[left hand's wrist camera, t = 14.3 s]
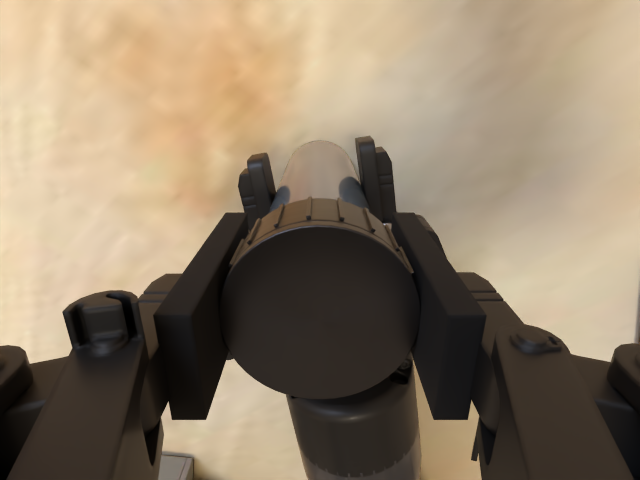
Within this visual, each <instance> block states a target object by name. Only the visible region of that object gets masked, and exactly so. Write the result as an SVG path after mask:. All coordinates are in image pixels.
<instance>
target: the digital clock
mask: <svg viewBox="0 0 640 480" xmlns="http://www.w3.org/2000/svg"><path fill="white" fill-rule="evenodd" d="M158 480H193V458H187V457H176V456H166V455H161V462H160V470H159V478H158Z"/></svg>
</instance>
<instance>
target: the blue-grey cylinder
mask: <svg viewBox="0 0 640 480" xmlns="http://www.w3.org/2000/svg"><path fill="white" fill-rule="evenodd" d="M310 196H312V199H313V198H328V199H335V200H337V198H341V200H342V201H344V202H348V203H351V204H354V205H356V206H358V207H360V208H363V209H364V208H367V209H368V210H369V213H371V211H370V208H369V206H368V203H367V200H366V198H365V195H364V193H363V190H362V188H361V185H360V182H359V180H358V177H357V175H356V172H355V170H354V167H353V164H352V162H351V160H350V158H349V156H348V155H347V153H346V152H345V151H344V150H343V149H342V148H341V147H339V146H338V145H336V144H334V143H331V142H328V141H313V142H309V143H306V144H304V145H302V146H301V147H300V148H298V149H297V150H296V151H295V152H294V153H293V155H292V156H291V158H290V160H289V162H288V164H287V167H286V170H285V172H284V175H283V177H282V180H281V182H280V185H279V187H278V190H277V193H276V195H275V198H274V200H273V203H272V205H271V208H270V210H269V213H271V212H272V211H274V210H276V209H277V208H279V206H280V204H284V205H286V204H289V203H292V202H295V201H299V200H304V199H308V197H310ZM269 213H268V214H269ZM371 214H372V213H371Z"/></svg>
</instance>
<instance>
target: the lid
mask: <svg viewBox="0 0 640 480" xmlns="http://www.w3.org/2000/svg"><path fill="white" fill-rule="evenodd" d="M228 267H230V268H231V269H230V271H229V273H228V275H227V277H226V280H225V282H224V284H223V287H222V290H221V294H220V298H219V318H220V327H221V334H222V336H223V339H224V342H225V344H226V346H227V348H228V350H229V352H230V353H231V355H232V356H233V358H234V359H235V360H236V362H237V363H238V364H239V365H240V366H241V367H242V368H243V369H244V370H245V371H246V372H247V373H248V374H249V375H250V376H252V377H253V378H254V379H256V380H257V381H259V382H260V383H262V384H263V385H265V386H267V387H269V388H271V389H273V390H275V391H278V392H281V393H284V394H287V395H291V396H295V397H300V398H307V399H333V398H339V397H345V396H349V395H352V394H356V393H359V392H361V391H364V390H366V389H369V388H371V387H372V386H374V385H376V384H378V383H380V382H381V381H382V380H384V379H385V378H387V377H388V376H389V375H391V374H392V373H393V372H394V371H395V370H396V369H397V368H398V367H399V366H400V365H401V364H402V362H403V361H404V360H405V359H406V357H407V356H408V354H409V353H410V351H411V349H412V347H413V345H414V343H415V341H416V338H417V335H418V332H419V325H420V316H421V302H420V295H419V292H418V289H417V285H416V283H415V281H414V278H413V276H415V273H414V271H413V269H412V267H411V265H410V263H409V261H408V259H407V257H406V255H405V253H404V251H403V249H402V247H399V246H398V244H397V242H396V240H395V238H394V236H393V234H392V232H391V229H390V227H389V226H388V225H384V224H383V223H382V222H381V221H380V220H378V219H377V218H376V217H375V216H374V215H372V214H371V213H369V210H368V209H367V208H364V209H363V208H360V207H358V206H356V205H354V204H351V203H348V202H344V201H342V200H341V198H337V200H335V199H328V198H313V199H312V196H310V197H308V199H304V200H299V201H295V202H292V203H289V204H286V205H284V204H280V206H279V208H277V209H276V210H274V211H272V212H271V213H269V214H268V215H266V216H265V217H263V218H262V219H260V218H259V219H257V221H256V223H255V225H254V227H253V228H252V230H251V231H250V232H249V233H248V235H247V237H246V238H245V240H244V239H242V240H241V241H240V243H239V245H238V248H237V250H236V252H235V254H234V256H233V258H232V260H231V262H230V264H229V266H228Z"/></svg>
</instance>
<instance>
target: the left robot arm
mask: <svg viewBox="0 0 640 480" xmlns="http://www.w3.org/2000/svg"><path fill="white" fill-rule="evenodd" d="M391 232H392V234H393V236H394V238H395V240H396V242H397V244H398V246H399V247H402V249H403V251H404V253H405V255H406V257H407V259H408V261H409V263H410V265H411V267H412V269H413V271H414V273H415V276H413V278H414V281H415V283H416V285H417V289H418V292H419V295H420V302H421V316H420V325H419V332H418V335H417V338H416V341H415V343H414V345H413V347H412V349H411V353H412V356H413V359H414V362H415V365H416V368H417V371H418V374H419V377H420V380H421V383H422V386H423V389H424V392H425V395H426V398H427V401H428V404H429V407H430V410H431V413H432V416H433V419H434V420H468V415H469V410H470V404H471V399H472V401H473V404H474V406H475V408H476V410H477V412H478V414H479V421H478V426H477V431H476V436H475V441H474V446H473V451H472V458H471V460H473V461H477V457H478V453H479V461H480V469H481V477H482V480H640V344H633V343H632V344H624V345H620V346H619V347H617V348H616V349H615V351H614V354H613V357H612V360H611V362H607V361H601V360H596V359H591V358H586V357H581V356H576V355H572V354H571V353H570V351H569V349H568V348H567V346H566V345H565V344H564V343H563V342H562V340H561V339H559V338H558V337H556V336H555V335H553V334H552V333H550V332H548V331H545V330H543V329H541V328H538V327H534V326H530V325H525V324H524V323H523V322H522V321H521V320H520V318H519V317H518V316H517V315H516V314H515V312H514V311H513V310H512V309H511V308H510V306H509V305H508V304H507V303H506V302H505V301H503V298H502V297H501V296H500V295H499V293H496V290H495V289H494V287H493V286H492V285H491V284H490V283H489V281H487V280H486V279H484V278H482V277H481V276H479V275H477V274H475V273H474V272H456V271H455V270H454V268H453V267H452V266H451V264H450V263H449V261H448V260H447V258H446V257H445V256H444V254H443V253H442V251H441V250H440V249H439V247H438V246H437V244H436V243H435V242H434V240H433V239H432V237H431V236H430V235H429V233H428V232H427V230H426V229H425V228H424V226H423V225H422V223H421V222H420V221H419V219H418V218H417V216H416V215H415V214H414V213H392V225H391ZM248 233H249V228H248V214H247V213H225V215H224V216H223V217H222V219H221V220H220V222H219V223H218V224H217V226H216V227H215V229H214V230H213V231H212V233H211V234H210V236H209V237H208V238H207V240H206V241H205V243H204V244H203V245H202V247H201V248H200V250H199V251H198V253H197V254H196V255H195V257H194V258H193V260H192V261H191V262H190V264H189V265H188V267H187V268H186V269H185V271H184V272H183V274H165V275H163V276H162V277H160V278H158V279H157V280H155V281H153V282H152V283H151V284H150V285H149V286H148V288H147V289H146V290H145V291H144V294H142V295H141V296H140V297H139V298H137V296H136V295H134V294H133V293H132V292H127V291H122V290H117V291H105V292H99V293H94V294H92V295H89V296H86V297H83V298H80V299H79V300H77V301H75V302H73V303H72V304H70V305H69V306H68V307H67V308H66V309H65V310H64V311H63V316H64V319H65V323H66V326H67V330H68V334H69V337H70V341H71V344H72V350H71V352H70V354H69V356H67V357H63V358H58V359H53V360H48V361H43V362H38V363H32V364H29V361H28V358H27V355H26V352H25V351H24V350H23V349H22V348H20V347H18V346H10V345H6V346H0V480H158V478H159V470H160V462H161V453H162V445H163V437H164V432H163V426H162V421H161V416H162V413H163V411H164V409H165V407H166V405H167V403H168V401H169V406H170V411H171V417H172V420H206V418H207V415H208V412H209V409H210V406H211V403H212V400H213V397H214V394H215V391H216V388H217V385H218V382H219V380H220V377H221V374H222V371H223V368H224V365H225V362H226V359H227V356H228V353H229V350H228V348H227V346H226V344H225V342H224V339H223V336H222V334H221V327H220V318H219V298H220V294H221V290H222V287H223V284H224V282H225V280H226V277H227V275H228V273H229V271H230V269H231V268H230V267H228V266H229V264H230V262H231V260H232V258H233V256H234V254H235V252H236V250H237V248H238V245H239V243H240V241H241V240H242V239H244V240H245V238H246V237H247V235H248Z"/></svg>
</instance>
